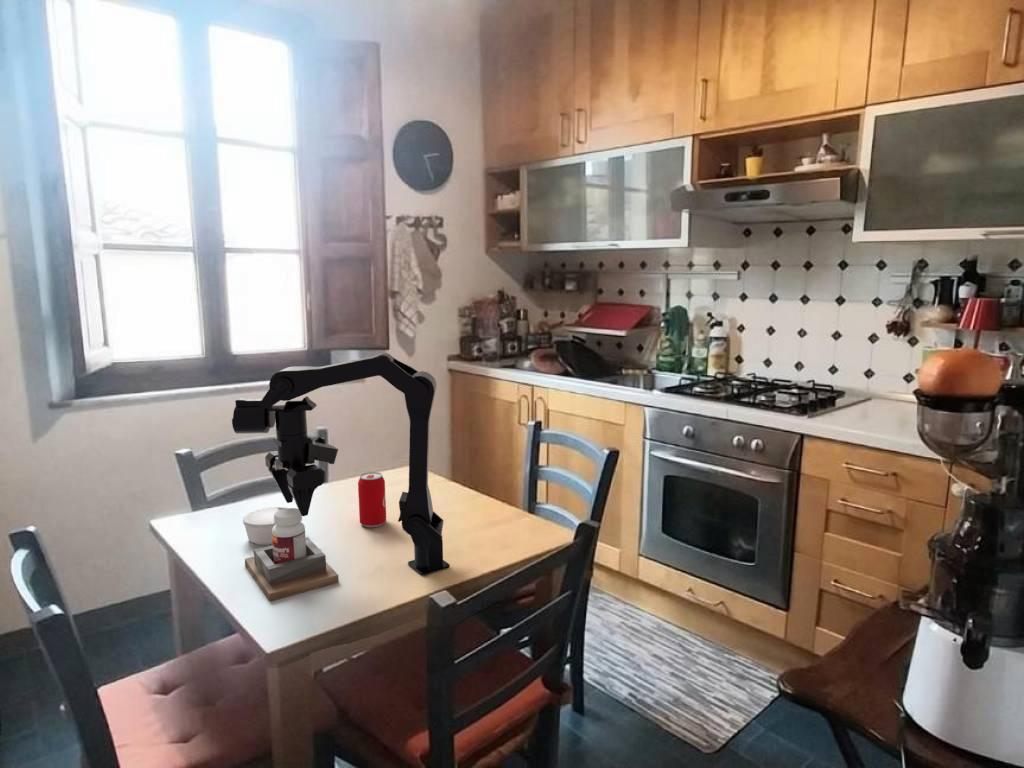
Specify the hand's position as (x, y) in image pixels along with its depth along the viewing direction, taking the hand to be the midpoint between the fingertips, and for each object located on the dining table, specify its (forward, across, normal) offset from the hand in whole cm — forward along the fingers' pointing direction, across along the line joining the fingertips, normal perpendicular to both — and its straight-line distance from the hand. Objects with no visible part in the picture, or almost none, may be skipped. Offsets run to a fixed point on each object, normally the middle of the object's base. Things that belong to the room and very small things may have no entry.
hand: (297, 508), depth 129 cm
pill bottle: (+12, -1, +2) cm, 12 cm away
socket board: (+13, -1, +2) cm, 13 cm away
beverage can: (+13, +14, -22) cm, 29 cm away
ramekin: (+13, +20, 0) cm, 24 cm away
